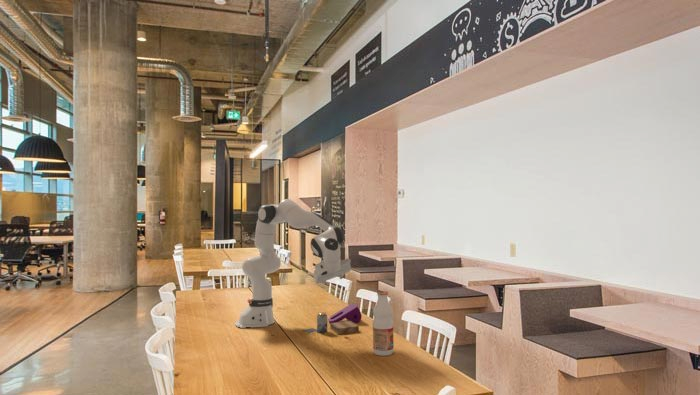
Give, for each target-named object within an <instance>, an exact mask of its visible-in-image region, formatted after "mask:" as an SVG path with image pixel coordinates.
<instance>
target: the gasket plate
mask: <svg viewBox="0 0 700 395" xmlns="http://www.w3.org/2000/svg"><path fill="white" fill-rule="evenodd" d="M301 331H302V332H305V333H306V334H307V333H308V334H311V333H316V332H317V328H314V327H310V328H307V329H302V330H301Z"/></svg>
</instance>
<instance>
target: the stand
mask: <svg viewBox="0 0 700 395" xmlns="http://www.w3.org/2000/svg"><path fill="white" fill-rule="evenodd" d="M329 324H330V326H329V328H330V330H332V331H333V332H334V333H336V335H345V334H351V333H352V334H353V333H359V332H360V331H359V330H360V329H359V328H360V326H359V325H357V323H353V322H351V321H349V320H346V321H340V322H336V323H329Z"/></svg>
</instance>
